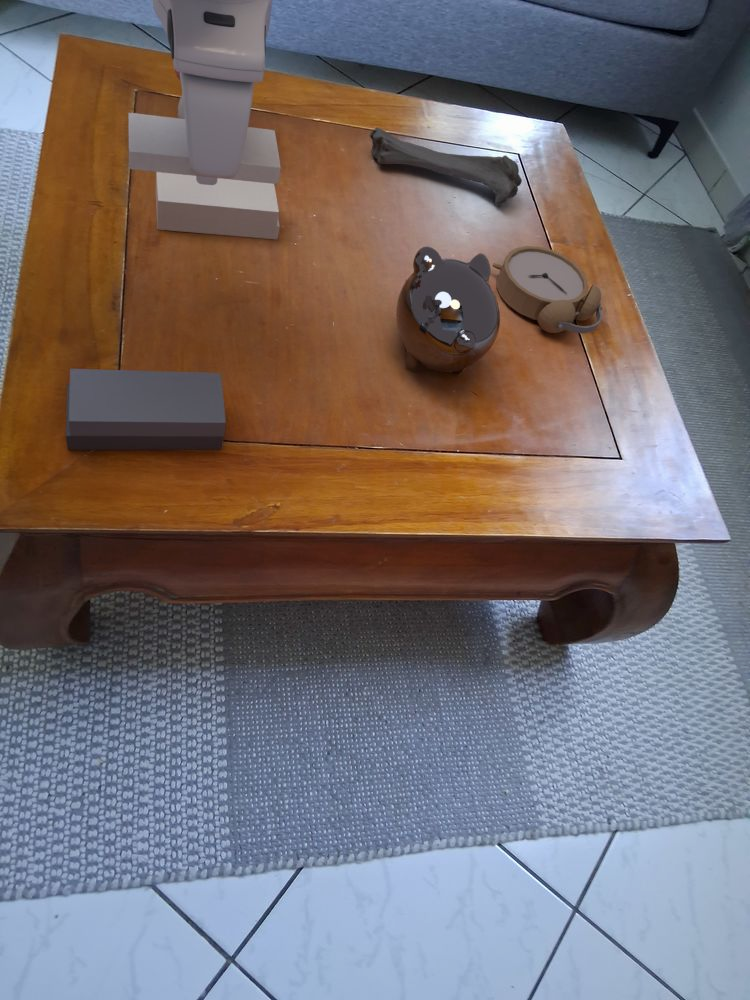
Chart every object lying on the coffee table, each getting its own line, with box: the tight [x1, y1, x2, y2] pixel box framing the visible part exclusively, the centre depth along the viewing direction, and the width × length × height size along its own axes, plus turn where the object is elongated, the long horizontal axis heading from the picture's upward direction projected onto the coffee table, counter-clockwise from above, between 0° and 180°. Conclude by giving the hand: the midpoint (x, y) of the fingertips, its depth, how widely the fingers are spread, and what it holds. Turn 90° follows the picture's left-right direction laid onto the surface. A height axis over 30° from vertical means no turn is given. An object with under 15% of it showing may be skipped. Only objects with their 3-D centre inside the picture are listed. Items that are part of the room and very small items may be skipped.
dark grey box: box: [65, 368, 227, 451], centre depth 72 cm, size 14×6×4 cm, turn 100°
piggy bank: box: [395, 246, 501, 375], centre depth 84 cm, size 11×15×12 cm
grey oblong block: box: [155, 172, 281, 240], centre depth 90 cm, size 14×6×4 cm, turn 100°
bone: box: [369, 127, 523, 207], centre depth 105 cm, size 22×6×6 cm, turn 83°
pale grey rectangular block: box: [128, 112, 282, 185], centre depth 68 cm, size 13×6×2 cm, turn 100°
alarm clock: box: [492, 245, 603, 334], centre depth 97 cm, size 11×5×15 cm
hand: (204, 155), depth 69 cm, fingers closed on pale grey rectangular block, 5 cm apart
